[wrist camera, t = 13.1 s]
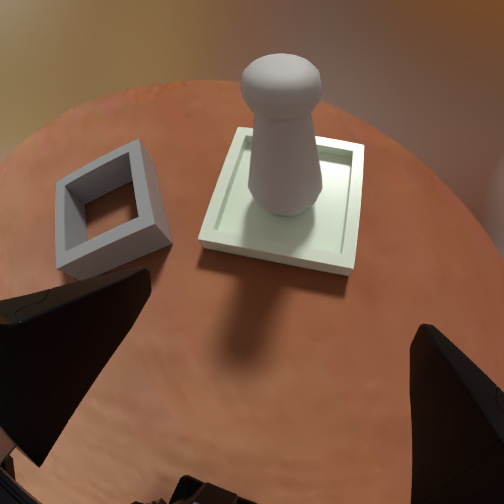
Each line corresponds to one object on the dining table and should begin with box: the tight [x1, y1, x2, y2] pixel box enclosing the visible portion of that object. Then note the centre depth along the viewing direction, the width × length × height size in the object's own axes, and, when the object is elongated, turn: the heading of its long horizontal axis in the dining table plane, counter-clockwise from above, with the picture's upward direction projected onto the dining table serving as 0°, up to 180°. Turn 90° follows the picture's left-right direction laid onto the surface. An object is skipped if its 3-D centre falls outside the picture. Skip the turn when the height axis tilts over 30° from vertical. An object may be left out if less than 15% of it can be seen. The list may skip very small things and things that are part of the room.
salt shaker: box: [241, 53, 323, 216], centre depth 19 cm, size 6×6×13 cm
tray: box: [198, 127, 364, 276], centre depth 25 cm, size 12×12×2 cm
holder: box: [55, 139, 173, 281], centre depth 25 cm, size 10×10×4 cm
